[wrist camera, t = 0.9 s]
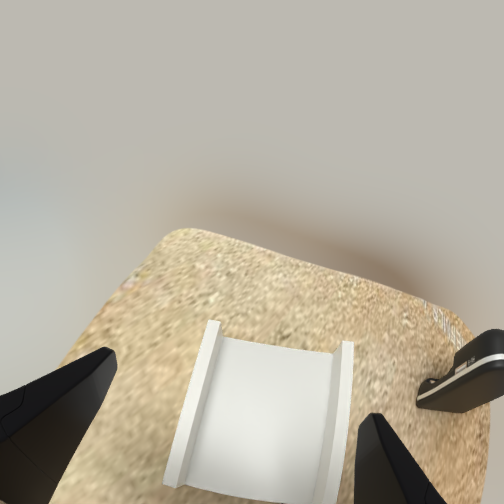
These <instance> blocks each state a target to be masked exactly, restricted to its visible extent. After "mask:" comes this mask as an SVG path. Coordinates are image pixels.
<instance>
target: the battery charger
mask: <svg viewBox="0 0 504 504" xmlns="http://www.w3.org/2000/svg"><path fill="white" fill-rule="evenodd" d="M503 395H504V330H500V329H491V330H488V331H485V332H484V333H482V334H480V335H479V336H477V337H476V338H475V339H473V340H472V341H470V342H469V343H468V344H466V345H465V346H464V347H463V348H461V349H460V350H459V351H458V352H456V354H455V356H454V363H453V367H452V368H451V370H450V371H449V373H448V374H447V375H445V376H444V377H442V378H441V379H433V378H429V379H427V380H425V381H424V382H423V383H422V385H421V387H420V390H419V396H418V397H417V401H418V402H417V406H418V407H420V408H426V409H432V410H440V411H448V412H457V413H464V412H467V411H469V410H471V409H474V408H476V407H478V406H480V405H483V404H485V403H488V402H490V401H492V400H494V399H496V398H499V397H501V396H503Z"/></svg>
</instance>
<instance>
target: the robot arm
mask: <svg viewBox="0 0 504 504" xmlns="http://www.w3.org/2000/svg"><path fill="white" fill-rule="evenodd" d="M116 371H117V360H116V354H115V351H114V350H112V349H110V348H108V347H102V348H100V349H98V350H96V351H94V352H92V353H90V354H88V355H86V356H84V357H82V358H80V359H78V360H76V361H74V362H71V363H69V364H67V365H65V366H63V367H61V368H59V369H57V370H55V371H53V372H51V373H49V374H47V375H45V376H43V377H41V378H39V379H37V380H35V381H32V382H30V383H28V384H27V385H24V386H22V387H20V388H18V389H16V390H13V391H11V392H9V393H6V394H3V395H1V396H0V504H49V502H50V500H51V498H52V496H53V494H54V492H55V490H56V488H57V486H58V483H59V481H60V479H61V477H62V476H63V474H64V472H65V470H66V468H67V466H68V464H69V462H70V460H71V459H72V457H73V455H74V453H75V451H76V449H77V447H78V446H79V444H80V442H81V440H82V438H83V437H84V435H85V433H86V431H87V430H88V428H89V426H90V424H91V422H92V421H93V419H94V417H95V416H96V414H97V412H98V410H99V409H100V407H101V405H102V403H103V401H104V398H105V396H106V394H107V392H108V389H109V387H110V385H111V382H112V380H113V378H114V376H115V373H116ZM354 504H447V503H446V502H445V501H444V499H443V498H442V497H441V496H440V494H439V493H438V492H437V490H436V489H435V488H434V486H433V485H432V483H431V482H430V481H429V479H428V478H427V476H426V475H425V474H424V472H423V471H422V469H421V468H420V467H419V465H418V464H417V462H416V461H415V460H414V458H413V457H412V455H411V454H410V452H409V451H408V450H407V448H406V447H405V445H404V444H403V443H402V441H401V440H400V438H399V437H398V436H397V434H396V433H395V431H394V430H393V429H392V427H391V426H390V425H389V423H388V422H387V420H386V419H385V418H384V416H383V415H382V414H381V413H370V414H369V415H368V416H367V417H366V418H365V419H364V421H363V422H362V423H361V424H360V426H359V429H358V438H357V448H356V457H355V478H354Z"/></svg>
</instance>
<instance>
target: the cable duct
mask: <svg viewBox="0 0 504 504" xmlns="http://www.w3.org/2000/svg"><path fill="white" fill-rule="evenodd" d="M353 357H354V342H350V341H342V342H341V344H340V345H339V346H338V348H337V349H336V350H335V352H334V353H333V354H331V353H323V352H315V351H307V350H299V349H292V348H286V347H279V346H273V345H267V344H261V343H255V342H249V341H244V340H238V339H233V338H228V337H223V333H222V327H221V322H219V321H214V320H208V323H207V326H206V330H205V333H204V336H203V340H202V343H201V346H200V350H199V353H198V356H197V360H196V363H195V367H194V370H193V373H192V377H191V380H190V384H189V387H188V391H187V394H186V398H185V401H184V405H183V408H182V412H181V415H180V419H179V422H178V426H177V430H176V433H175V437H174V440H173V444H172V448H171V451H170V455H169V459H168V463H167V466H166V470H165V474H164V478H163V482H162V484H164V485H167V486H170V487H173V488H177V487H180V486H182V485H184V484H185V485H188V486H192V487H196V488H199V489H203V490H207V491H211V492H216V493H220V494H225V495H230V496H235V497H241V498H246V499H253V500H260V501H268V502H276V503H287V504H336V501H337V496H338V491H339V486H340V480H341V475H342V469H343V463H344V456H345V449H346V441H347V433H348V425H349V415H350V405H351V392H352V377H353Z"/></svg>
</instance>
